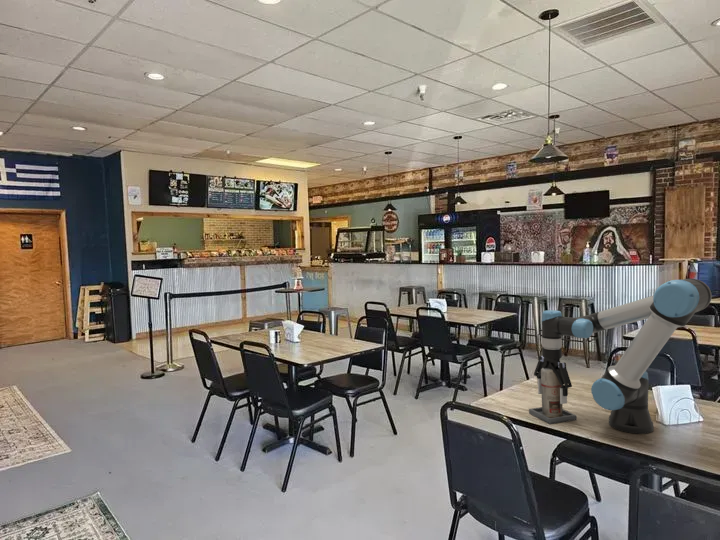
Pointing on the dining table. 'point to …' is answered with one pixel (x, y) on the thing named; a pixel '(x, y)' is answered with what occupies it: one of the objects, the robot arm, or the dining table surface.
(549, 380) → the spray can
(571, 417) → the tray
